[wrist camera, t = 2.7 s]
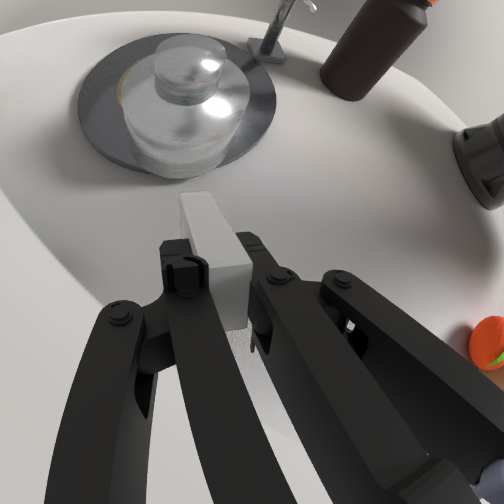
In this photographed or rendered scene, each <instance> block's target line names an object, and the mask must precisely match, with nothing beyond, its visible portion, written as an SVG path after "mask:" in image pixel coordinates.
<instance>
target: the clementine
mask: <svg viewBox="0 0 504 504" xmlns="http://www.w3.org/2000/svg"><path fill="white" fill-rule="evenodd" d="M469 353H470V356H471V359H472V361H473V362H474V363H475V365H476V366H478V367H479V368H481V369H483V370H494V369H497V368H499V367H501V366H502V365H504V318H503V317H500V316H491V317H488V318H485V319H484V320H482V321H481V322H479V324H478V325H477V326H476V327H475V329H474V330H473V332H472V335H471V337H470V341H469Z"/></svg>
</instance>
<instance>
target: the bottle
mask: <svg viewBox="0 0 504 504" xmlns="http://www.w3.org/2000/svg"><path fill="white" fill-rule="evenodd" d="M437 1H438V0H367V1H366V2H365V4H364V5H363V7H362V8H361V9H360V11H359V12H358V14H357V15H356V17H355V18H354V19H353V21H352V22H351V24H350V25H349V27H348V28H347V30H346V31H345V33H344V34H343V36H342V37H341V39H340V40H339V42H338V43H337V45H336V46H335V48H334V49H333V51H332V52H331V54H330V55H329V57H328V58H327V60H326V62H325V63H324V65H323V66H322V68H321V69H320V77H321V79H322V81H323V82H324V84H325V85H326V86H327V87H328V88H329V89H330V90H331V91H332V92H333V93H335V94H337V95H338V96H340V97H342V98H344V99H346V100H351V101H359V100H361V99H362V98H364V97H365V96H366V94H367V93H368V92H369V91H370V90H371V89H372V88H373V86H374V85H375V84H376V83H377V82H378V81H379V80H380V78H381V77H382V76H383V75H384V74H385V73H386V72H387V71H388V69H389V68H390V67H391V66H392V65H393V64H394V63H395V62H396V60H397V59H398V58H399V57H400V56H401V55H402V54H403V53H404V52H405V50H406V49H407V48H408V47H409V46H410V45H411V44H412V43H413V42H414V40H415V39H416V38H417V37H418V36H419V35H420V34H421V33H422V31H423V30H424V29H425V28H426V27H427V19H426V13H425V10H426V9H427V8H428V7H429V6H430V7H432V4H434V5H435V4H436V2H437ZM431 3H432V4H431Z"/></svg>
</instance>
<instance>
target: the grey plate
mask: <svg viewBox="0 0 504 504" xmlns="http://www.w3.org/2000/svg"><path fill="white" fill-rule="evenodd" d="M183 34H190V33H169V34H160V35H154V36H150V37H145V38H142V39H139V40H136V41H133V42H131V43H128V44H126V45H124V46H122V47H120V48H118V49H116V50H115V51H113V52H112V53H110V54H109V55H107V56H106V57H105V58H104V59H102V60H101V61H100V62H99V63H98V64H97V65H96V66H95V67H94V68H93V69H92V71H91V72H90V73H89V75H88V76H87V77H86V79H85V81H84V83H83V85H82V88H81V90H80V93H79V98H78V114H79V119H80V122H81V125H82V128H83V131H84V133H85V135H86V137H87V139H88V140H89V142H90V143H91V144H92V146H93V147H94V148H95V149H96V150H97V151H98V152H99V153H100V154H102V155H103V156H105V157H106V158H108V159H109V160H111V161H112V162H114V163H116V164H119V165H121V166H123V167H126V168H129V169H132V170H135V171H139V172H144V173H149V174H153V173H151V172H149V171H147V170H146V169H144V168H143V167H142V166H141V165H140V164H138V162H137V161H136V160H135V159H134V157H133V156H132V154H131V151H130V149H129V144H128V139H127V133H126V126H125V119H124V112H123V105H122V97H121V88H122V84H123V81H124V79H125V77H126V75H127V74H128V72H129V71H130V70H131V69H132V68H133V67H134V66H135V65H136V64H137V63H139V62H140V61H141V60H143V59H145V58H147V57H148V56H151V55H153V54H155V52H156V49H157V47H158V46H159V44H160V43H162V42H163V41H164V40H166V39H168V38H170V37H173V36H177V35H183ZM197 35H199V34H197ZM203 36H205V35H203ZM207 37H209V36H207ZM210 38H212V39H214V40H216V41H218V42H219V43H220V44H221V45H222V46H223V47H224V48H225V50H226V54H227V56H226V59H228V60H230V61H231V62H233V63H234V64H235V65H236V66H237V67H238V68H239V69H240V70H241V71H242V72H243V73H244V75H245V76H246V78H247V80H248V83H249V87H250V98H249V102H248V104H247V106H246V109H245V111H244V114H243V116H242V119H241V121H240V124H239V127H238V129H237V132H236V134H235V137H234V139H233V142H232V145H231V147H230V150H229V152H228V154H227V156H226V157H225V159H224V160H223V161H222V162H221V163H220V164H219V165H218V166H217V167H215V168H218V167H221V166H224V165H226V164H228V163H230V162H232V161H234V160H237V159H238V158H240V157H241V156H243V155H244V154H246V153H247V152H249V151H250V150H251V149H252V148H253V147H254V146H256V145H257V144H258V142H259V141H260V140H261V139H262V137H263V136H264V134H265V133H266V131H267V129H268V127H269V126H270V124H271V122H272V120H273V117H274V114H275V110H276V93H275V88H274V85H273V83H272V81H271V78H270V77H269V75H268V73H267V72H266V70H265V69H264V68H263V67H262V66H261V64H260V63H259V62H258V61H256V60H255V59H254V58H253V57H252V56H251V55H249V54H248V53H247V52H245V51H243V50H242V49H240V48H238V47H237V46H234V45H232V44H230V43H228V42H225V41H223V40H220V39H217V38H213V37H210ZM215 168H214V169H215Z"/></svg>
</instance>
